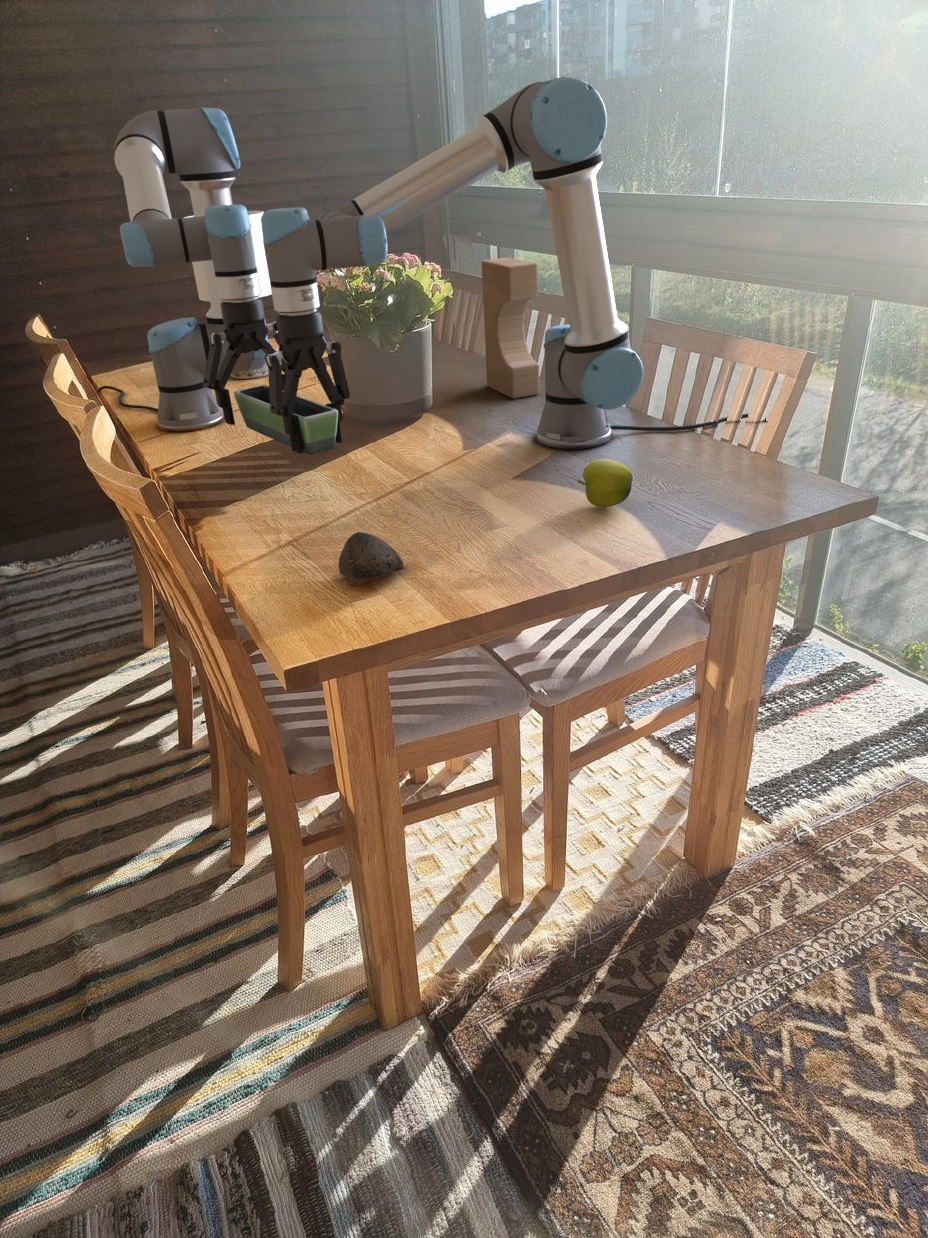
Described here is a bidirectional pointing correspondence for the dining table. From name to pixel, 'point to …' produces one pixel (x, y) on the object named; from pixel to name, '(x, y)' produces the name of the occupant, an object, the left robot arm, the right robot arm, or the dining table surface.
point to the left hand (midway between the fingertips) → (260, 415)
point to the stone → (367, 559)
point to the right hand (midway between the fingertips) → (317, 445)
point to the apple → (606, 482)
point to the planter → (257, 416)
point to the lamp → (262, 275)
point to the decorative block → (509, 325)
